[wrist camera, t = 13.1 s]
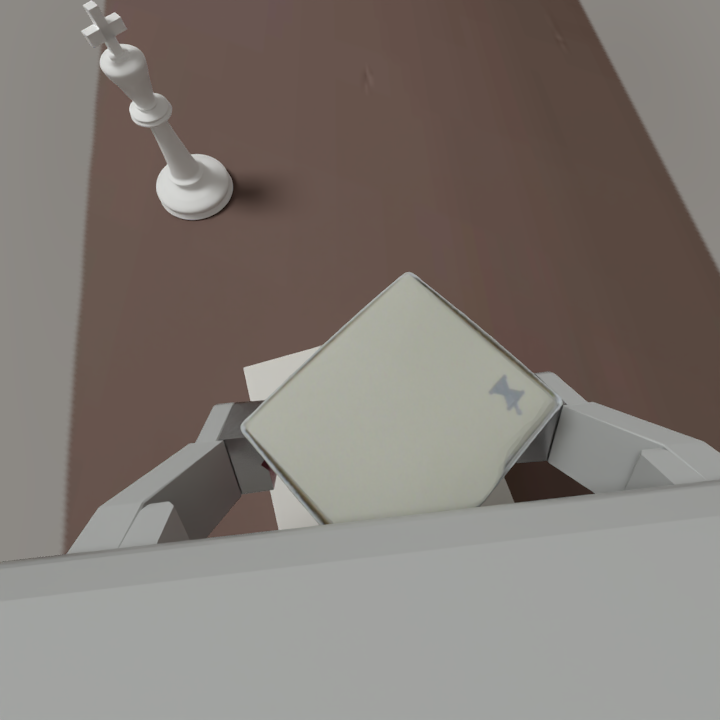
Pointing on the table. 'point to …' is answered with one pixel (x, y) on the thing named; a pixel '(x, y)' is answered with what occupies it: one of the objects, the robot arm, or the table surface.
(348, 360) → the small box
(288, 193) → the table surface
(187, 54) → the table surface
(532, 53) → the table surface
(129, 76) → the chess piece
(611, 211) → the table surface
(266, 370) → the off-white block
